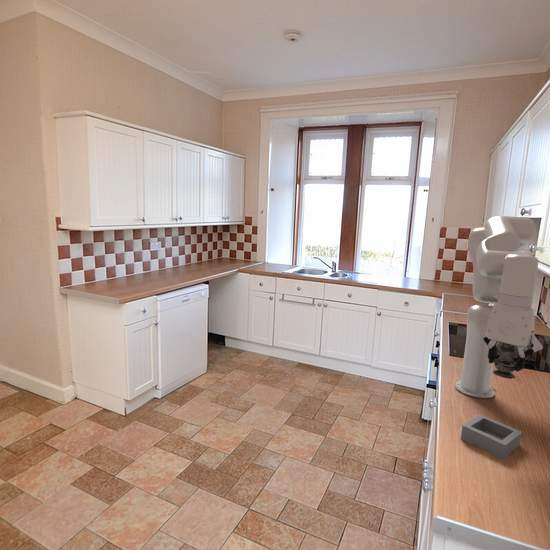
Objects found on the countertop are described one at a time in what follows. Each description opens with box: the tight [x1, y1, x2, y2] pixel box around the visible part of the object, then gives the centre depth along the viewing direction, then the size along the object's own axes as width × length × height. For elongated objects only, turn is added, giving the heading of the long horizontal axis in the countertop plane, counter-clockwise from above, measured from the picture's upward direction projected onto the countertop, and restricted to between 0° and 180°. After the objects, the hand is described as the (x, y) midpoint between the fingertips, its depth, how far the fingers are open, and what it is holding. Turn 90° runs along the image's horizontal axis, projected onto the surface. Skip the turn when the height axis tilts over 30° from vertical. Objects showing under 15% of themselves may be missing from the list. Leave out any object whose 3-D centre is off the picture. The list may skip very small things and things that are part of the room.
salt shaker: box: [492, 342, 516, 379], centre depth 103 cm, size 6×6×12 cm
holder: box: [460, 414, 523, 460], centre depth 105 cm, size 11×11×4 cm
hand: (505, 365), depth 103 cm, fingers closed on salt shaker, 5 cm apart
